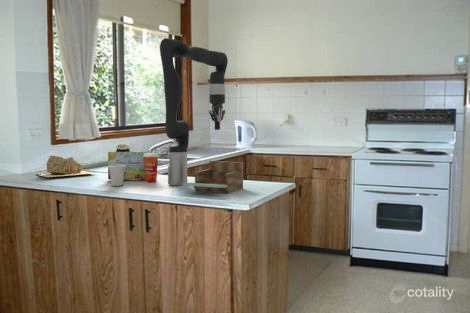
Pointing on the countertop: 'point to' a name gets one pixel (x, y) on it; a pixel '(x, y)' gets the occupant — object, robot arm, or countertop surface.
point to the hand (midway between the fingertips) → (217, 129)
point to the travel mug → (122, 148)
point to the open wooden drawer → (221, 176)
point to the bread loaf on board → (63, 167)
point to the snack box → (128, 164)
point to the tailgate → (205, 185)
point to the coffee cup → (150, 166)
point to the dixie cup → (117, 174)
